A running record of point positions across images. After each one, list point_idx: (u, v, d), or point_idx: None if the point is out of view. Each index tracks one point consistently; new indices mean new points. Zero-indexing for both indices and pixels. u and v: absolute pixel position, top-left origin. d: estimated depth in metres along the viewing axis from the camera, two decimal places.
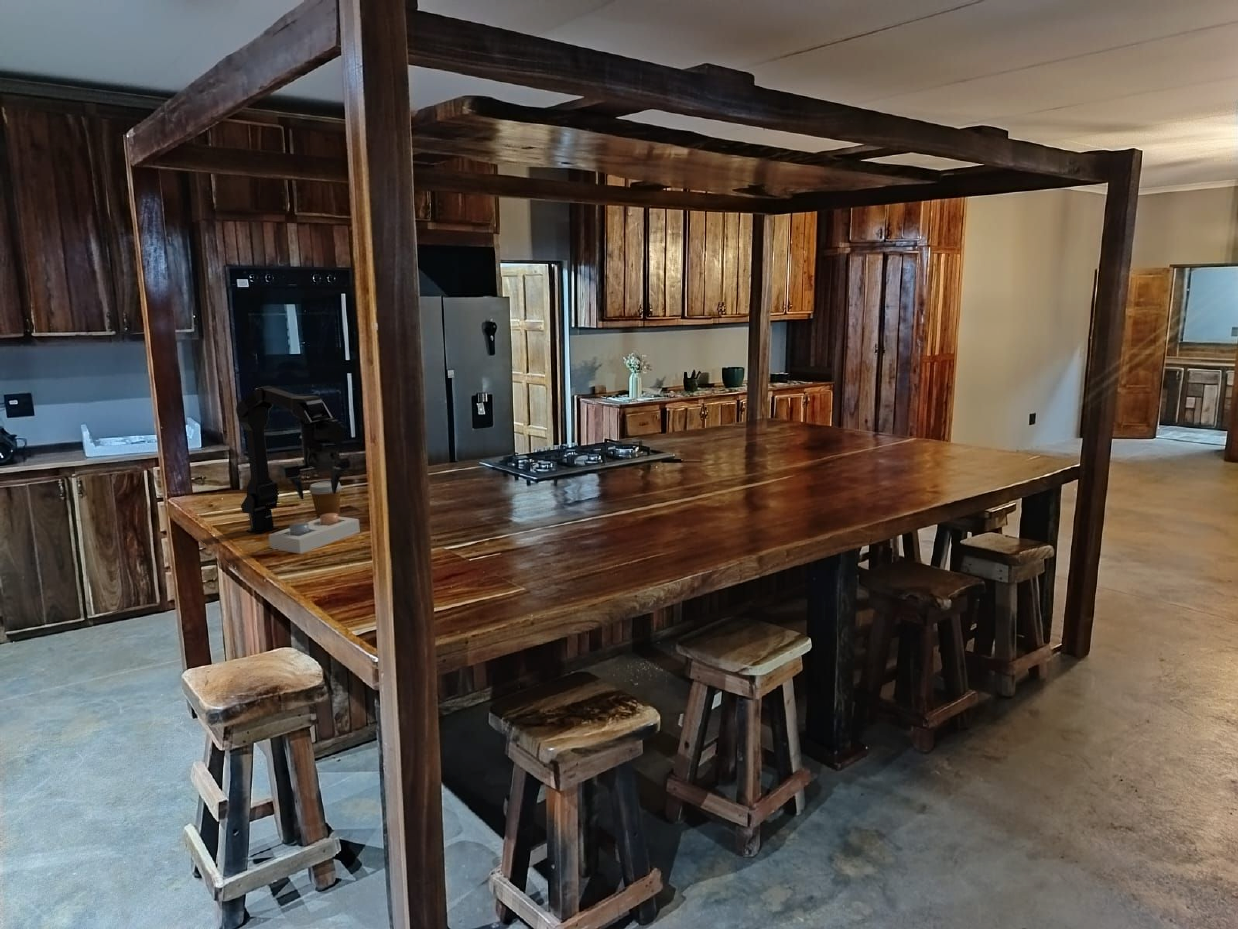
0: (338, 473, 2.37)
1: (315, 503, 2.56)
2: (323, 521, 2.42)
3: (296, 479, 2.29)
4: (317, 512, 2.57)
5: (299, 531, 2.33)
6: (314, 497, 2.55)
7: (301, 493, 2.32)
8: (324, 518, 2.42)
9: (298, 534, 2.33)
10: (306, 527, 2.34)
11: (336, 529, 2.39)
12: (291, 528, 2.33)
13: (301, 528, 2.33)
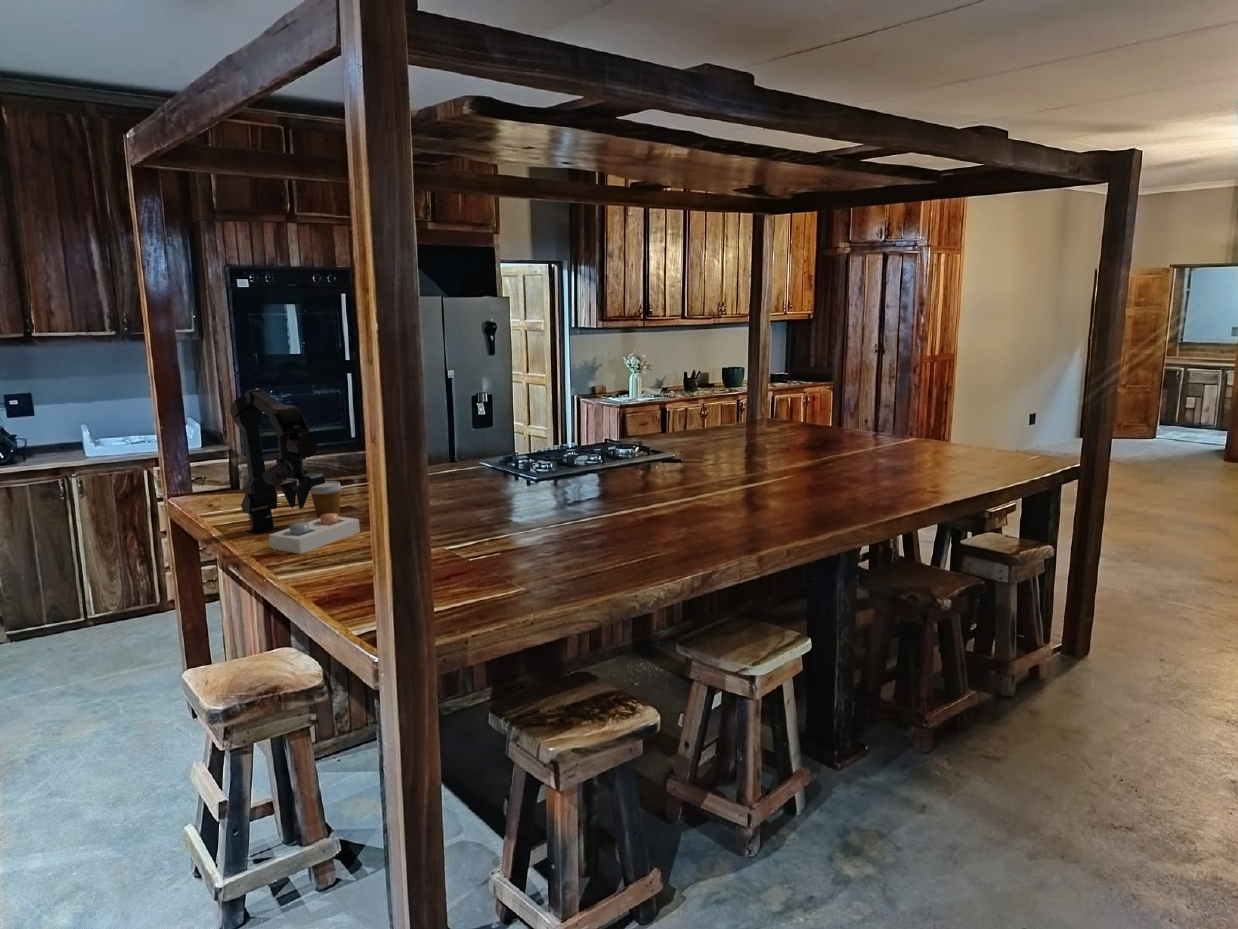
0: (294, 489, 2.30)
1: (315, 503, 2.56)
2: (323, 521, 2.42)
3: (277, 486, 2.32)
4: (317, 512, 2.57)
5: (299, 531, 2.33)
6: (314, 497, 2.55)
7: (288, 501, 2.34)
8: (324, 518, 2.42)
9: (298, 534, 2.33)
10: (306, 527, 2.34)
11: (336, 529, 2.39)
12: (291, 528, 2.33)
13: (301, 528, 2.33)
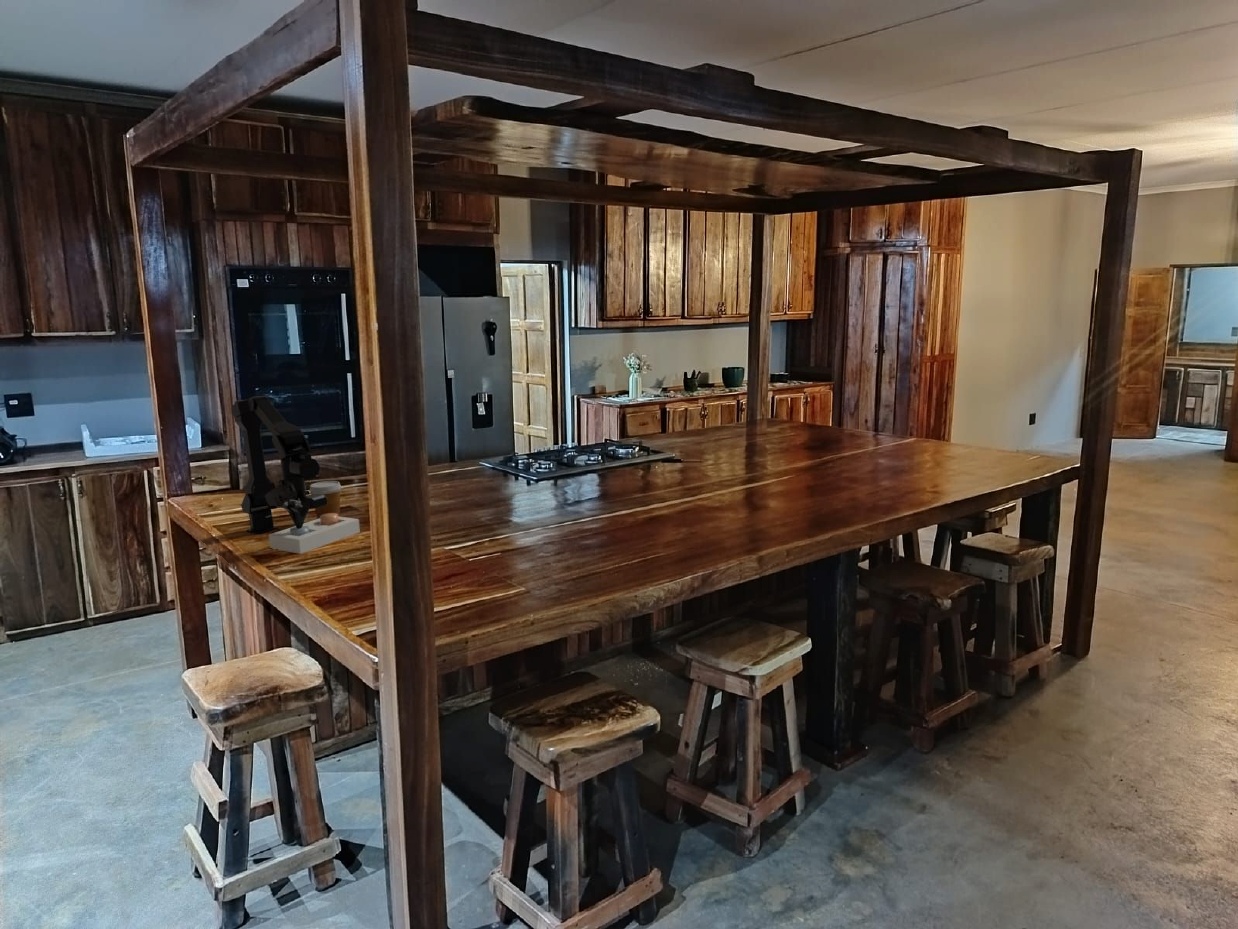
0: (293, 510, 2.32)
1: None
2: (323, 521, 2.42)
3: (283, 507, 2.33)
4: (317, 512, 2.57)
5: (299, 535, 2.33)
6: None
7: (294, 522, 2.34)
8: (324, 518, 2.42)
9: None
10: (306, 530, 2.35)
11: (336, 529, 2.39)
12: (291, 531, 2.33)
13: (301, 532, 2.33)
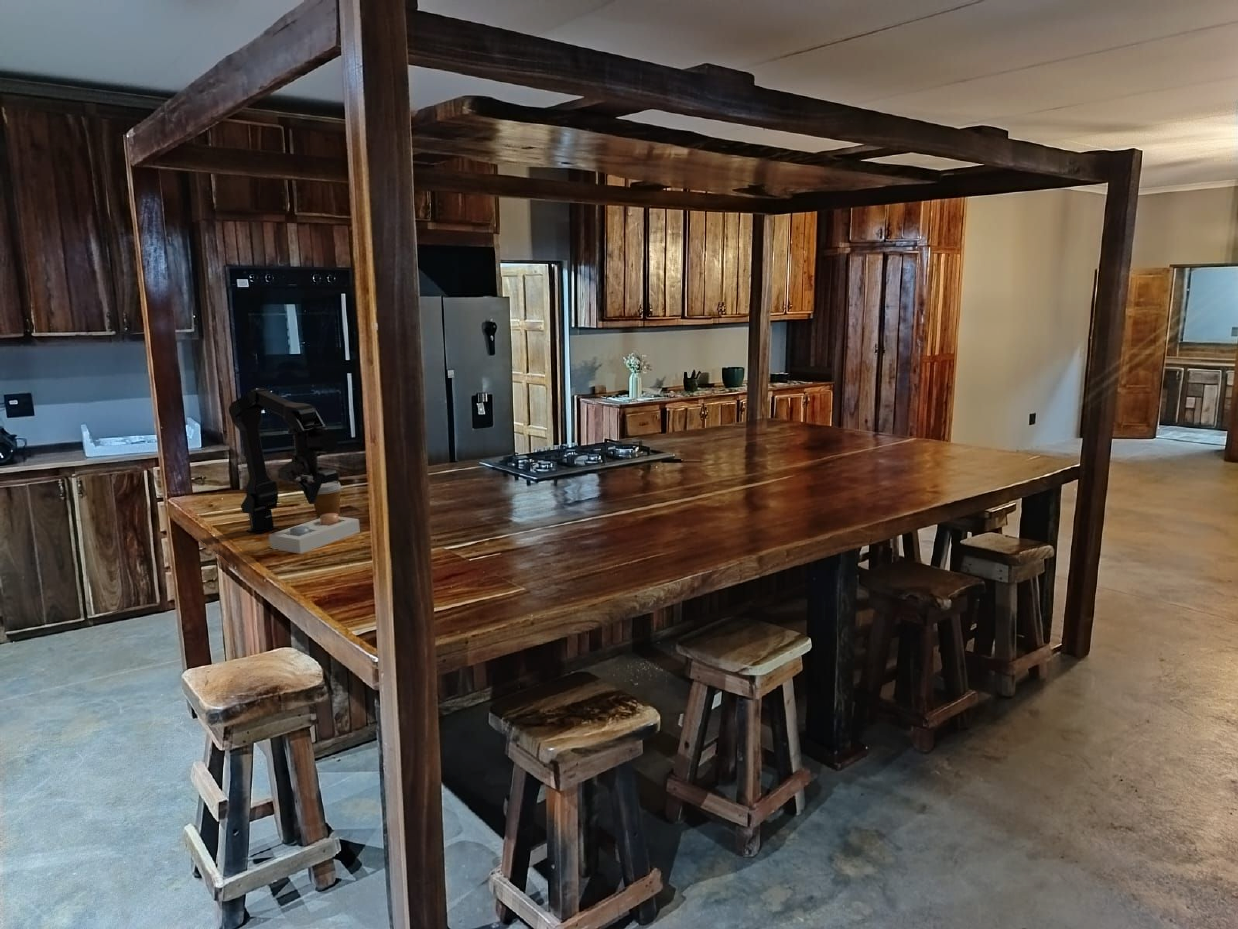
0: (305, 485, 2.35)
1: (315, 503, 2.56)
2: (323, 521, 2.42)
3: (296, 483, 2.36)
4: (317, 512, 2.57)
5: (299, 535, 2.33)
6: None
7: (307, 497, 2.37)
8: (324, 518, 2.42)
9: None
10: (306, 531, 2.35)
11: (336, 529, 2.39)
12: (291, 532, 2.33)
13: (301, 532, 2.33)
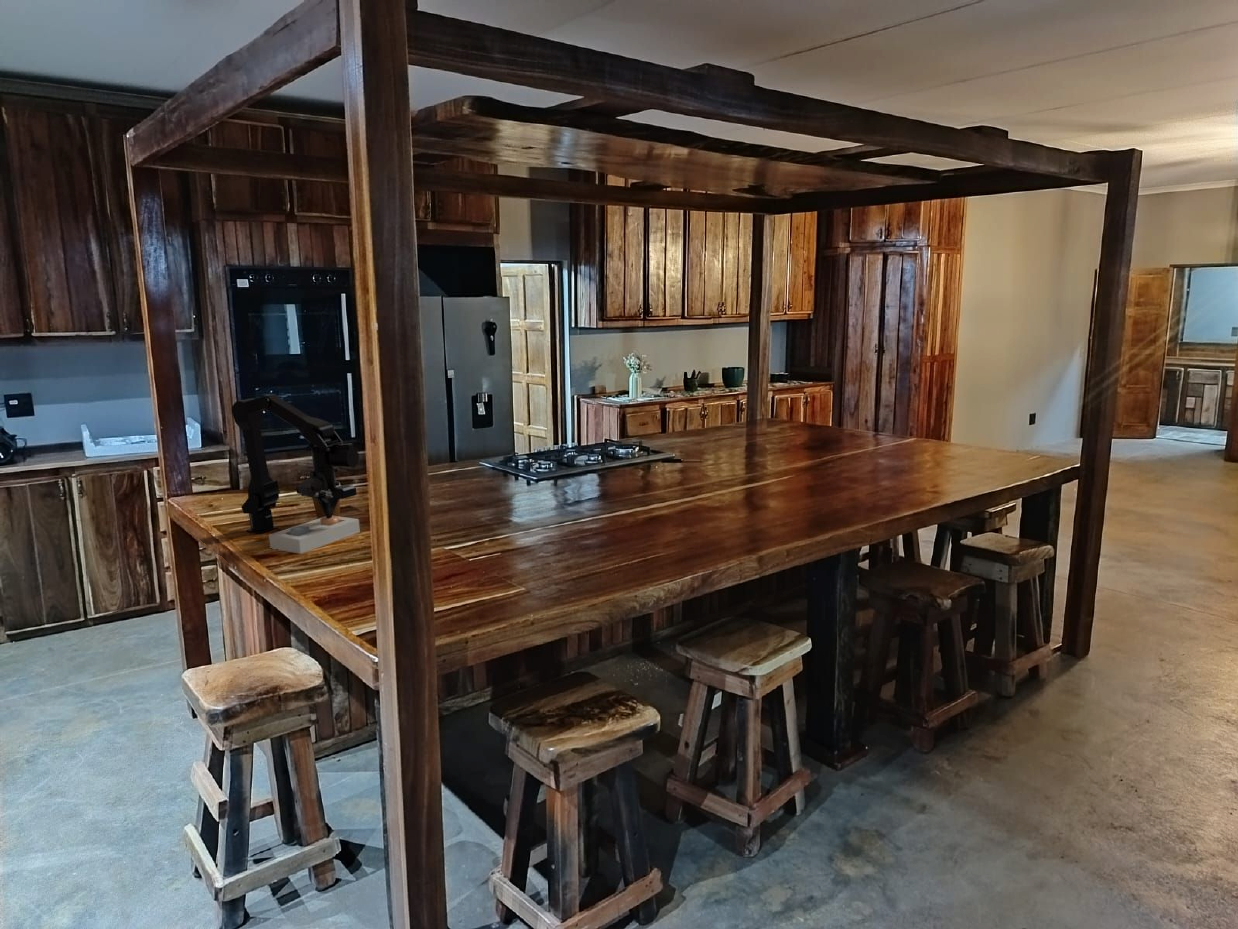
0: (323, 500, 2.41)
1: (315, 503, 2.56)
2: (323, 524, 2.43)
3: (314, 498, 2.42)
4: (317, 512, 2.57)
5: (299, 535, 2.33)
6: None
7: (324, 512, 2.44)
8: (324, 521, 2.42)
9: None
10: (306, 531, 2.35)
11: (336, 529, 2.39)
12: (291, 532, 2.33)
13: (301, 532, 2.33)
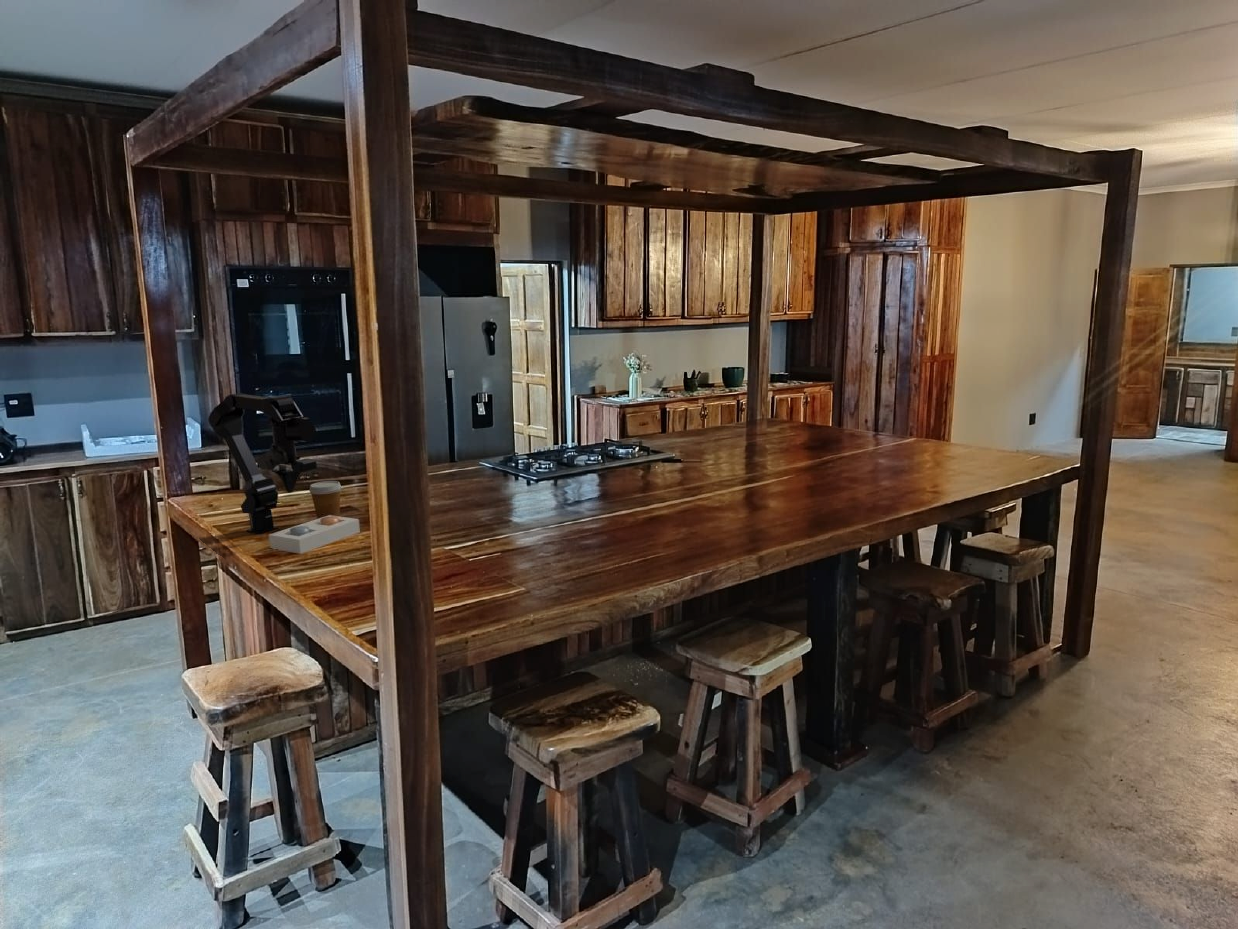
0: (284, 474, 2.40)
1: (315, 503, 2.56)
2: (323, 524, 2.43)
3: (275, 472, 2.41)
4: (317, 512, 2.57)
5: (299, 535, 2.33)
6: (314, 497, 2.55)
7: (285, 486, 2.43)
8: (324, 521, 2.42)
9: None
10: (306, 531, 2.35)
11: (336, 529, 2.39)
12: (291, 532, 2.33)
13: (301, 532, 2.33)
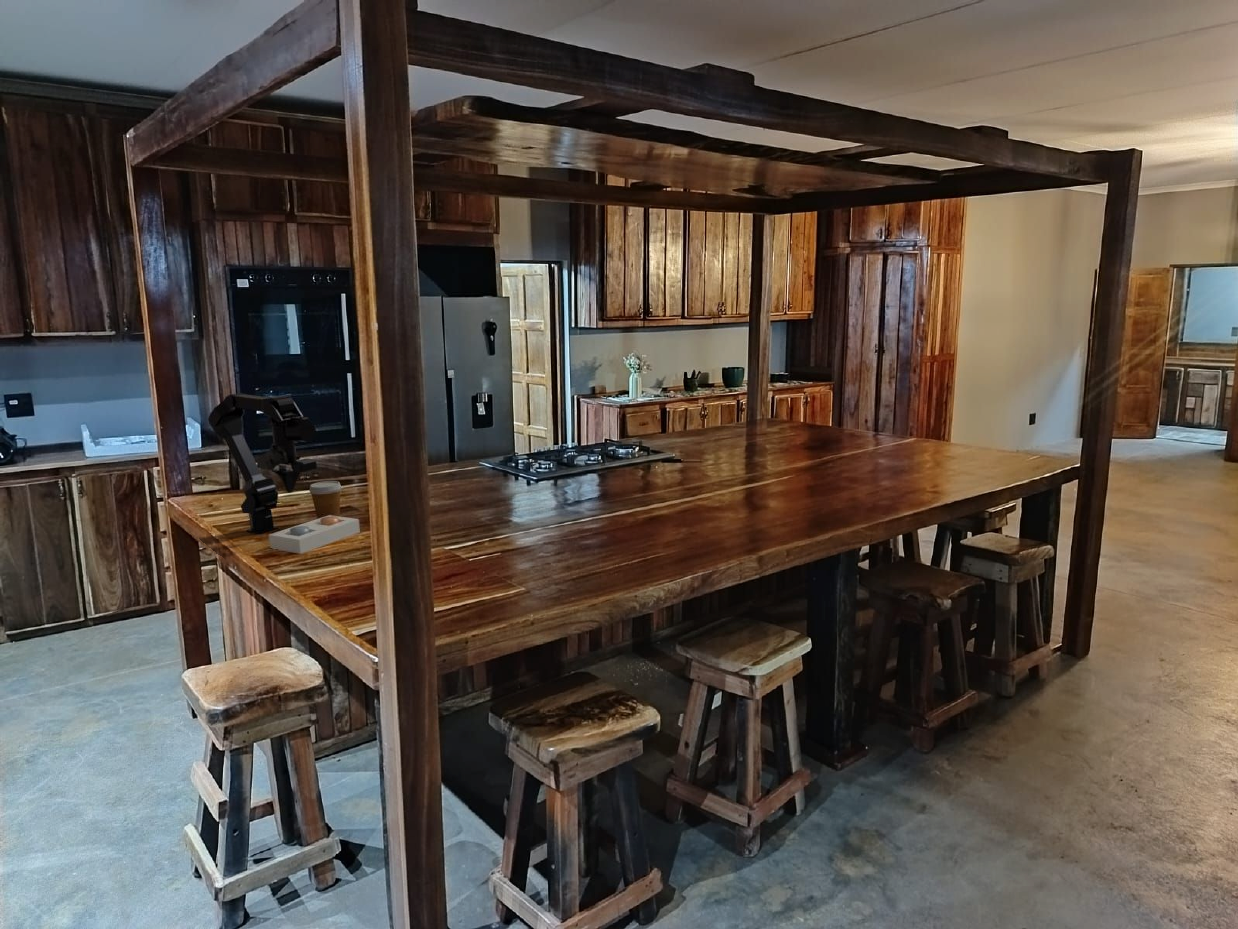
0: (284, 474, 2.40)
1: (315, 503, 2.56)
2: (323, 524, 2.43)
3: (275, 472, 2.41)
4: (317, 512, 2.57)
5: (299, 535, 2.33)
6: (314, 497, 2.55)
7: (285, 486, 2.43)
8: (324, 521, 2.42)
9: None
10: (306, 531, 2.35)
11: (336, 529, 2.39)
12: (291, 532, 2.33)
13: (301, 532, 2.33)
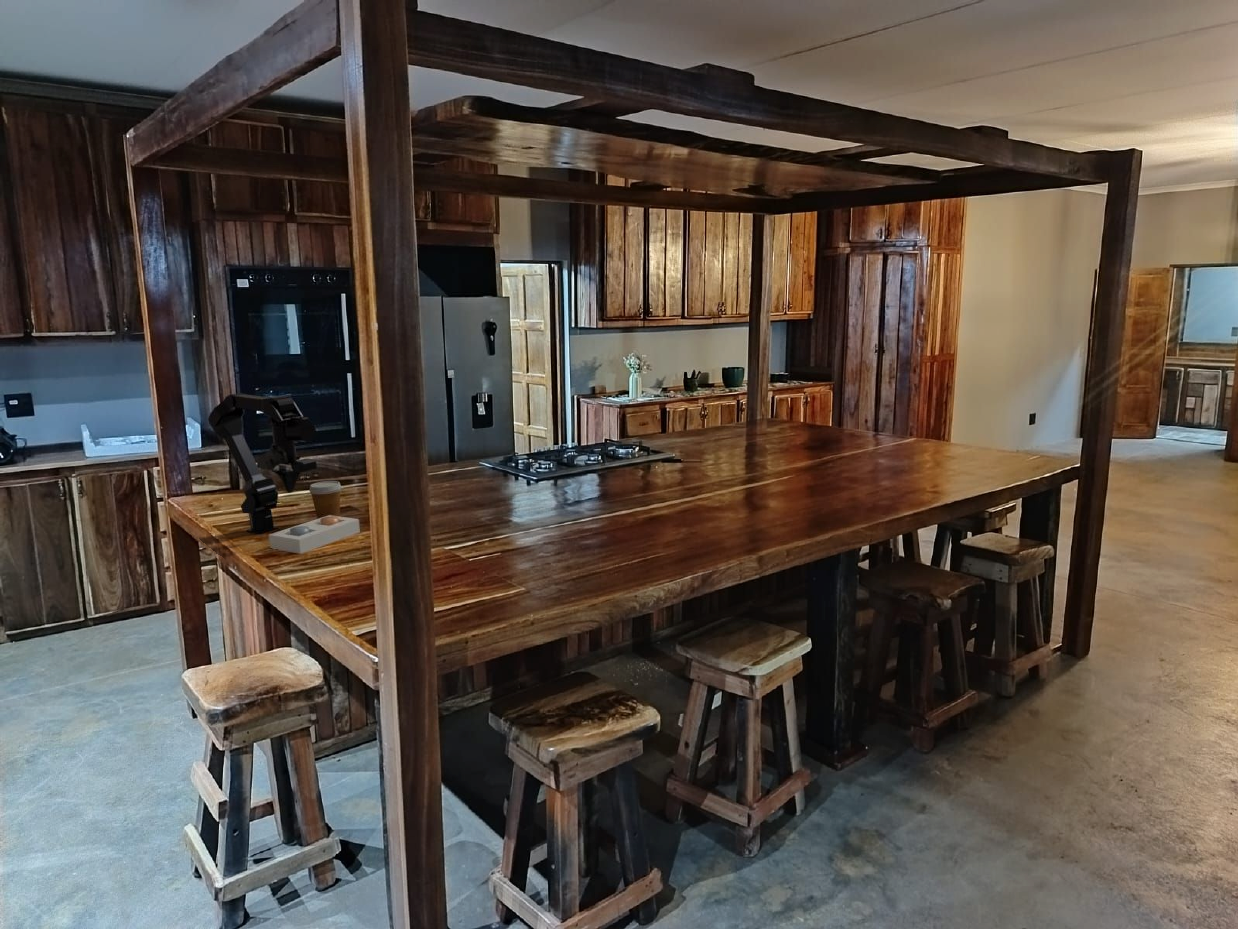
0: (284, 474, 2.40)
1: (315, 503, 2.56)
2: (323, 524, 2.43)
3: (275, 472, 2.41)
4: (317, 512, 2.57)
5: (299, 535, 2.33)
6: (314, 497, 2.55)
7: (285, 486, 2.43)
8: (324, 521, 2.42)
9: None
10: (306, 531, 2.35)
11: (336, 529, 2.39)
12: (291, 532, 2.33)
13: (301, 532, 2.33)
